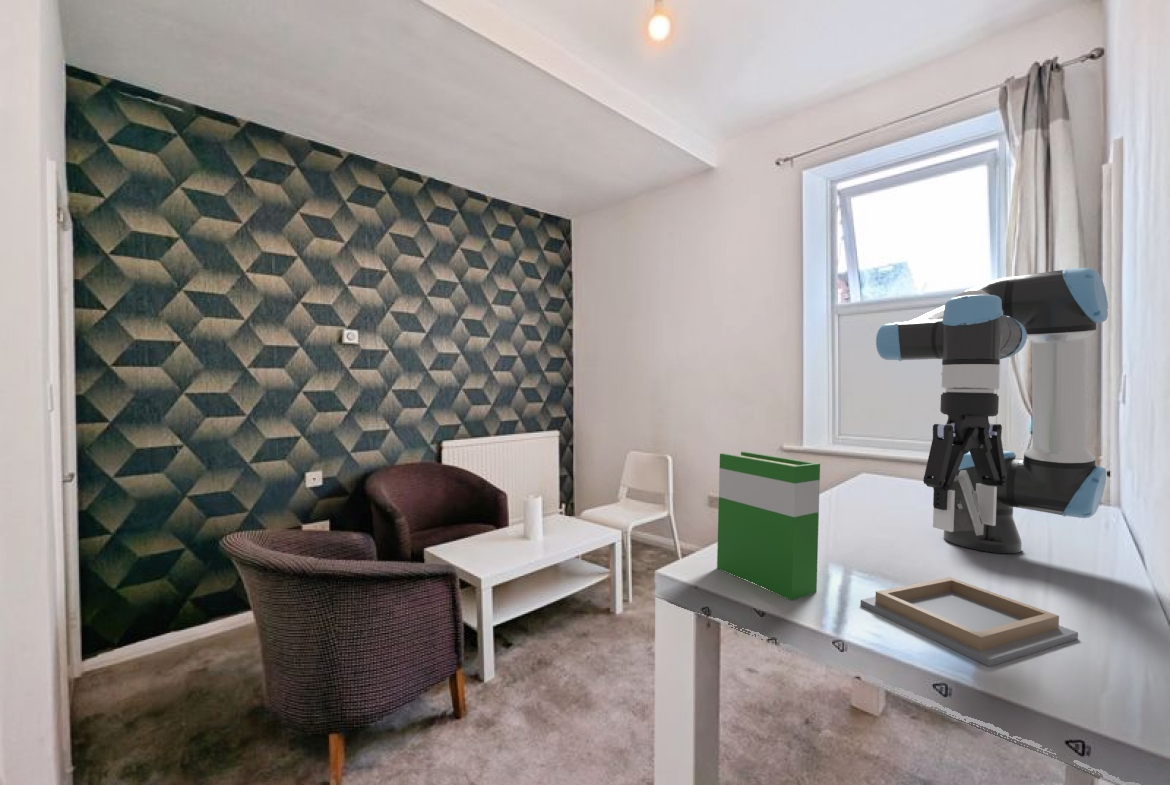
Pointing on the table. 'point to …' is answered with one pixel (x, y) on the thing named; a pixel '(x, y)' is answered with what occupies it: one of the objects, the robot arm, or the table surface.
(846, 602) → the table surface
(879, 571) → the table surface
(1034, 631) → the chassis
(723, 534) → the green open box
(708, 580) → the table surface
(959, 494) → the electrical switch
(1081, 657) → the table surface
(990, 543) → the robot arm
